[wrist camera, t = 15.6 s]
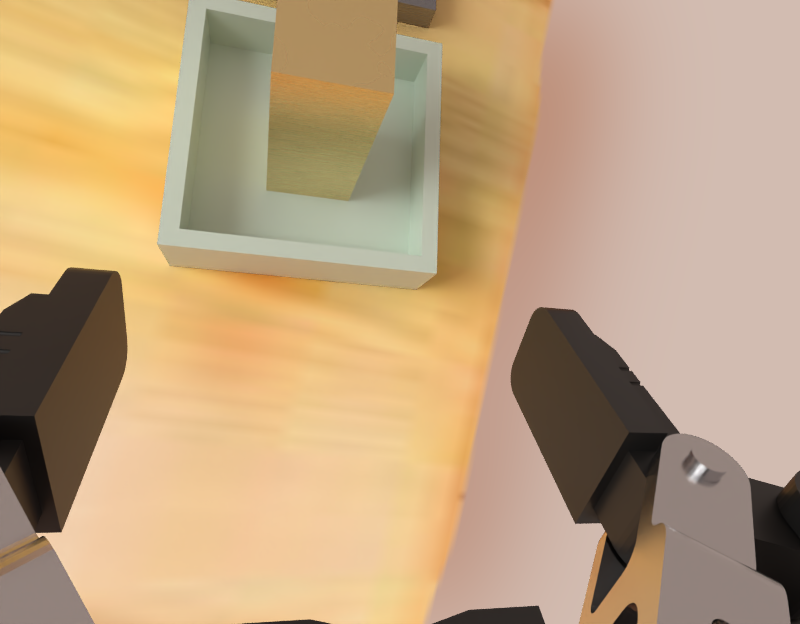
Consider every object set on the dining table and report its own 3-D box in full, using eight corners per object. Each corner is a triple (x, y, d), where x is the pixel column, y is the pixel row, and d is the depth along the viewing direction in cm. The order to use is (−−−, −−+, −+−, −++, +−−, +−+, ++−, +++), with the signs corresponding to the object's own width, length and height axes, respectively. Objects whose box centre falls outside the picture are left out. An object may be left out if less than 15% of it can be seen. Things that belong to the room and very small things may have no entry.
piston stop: (266, 190, 27) (270, 71, 18) (272, 114, 28) (280, -37, 19) (348, 201, 28) (393, 93, 19) (352, 128, 29) (398, -10, 20)
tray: (169, 265, 27) (157, 244, 23) (197, 38, 29) (190, -10, 26) (416, 289, 30) (436, 273, 26) (423, 82, 32) (442, 43, 29)
